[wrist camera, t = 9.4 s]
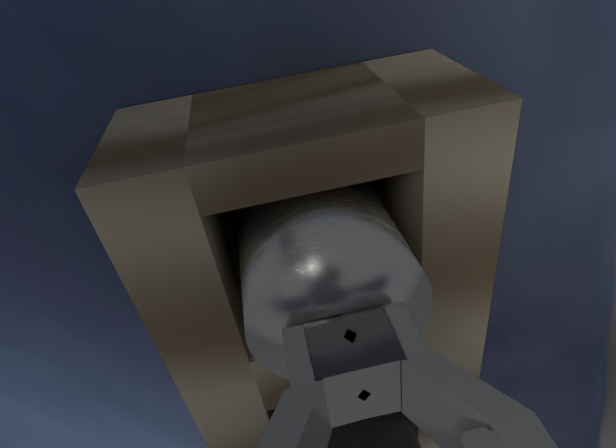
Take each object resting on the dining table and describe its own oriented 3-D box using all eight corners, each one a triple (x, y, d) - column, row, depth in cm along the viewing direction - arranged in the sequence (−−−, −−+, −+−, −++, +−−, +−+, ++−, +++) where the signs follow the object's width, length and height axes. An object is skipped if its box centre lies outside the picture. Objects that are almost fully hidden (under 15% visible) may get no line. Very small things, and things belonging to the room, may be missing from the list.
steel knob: (219, 164, 13) (222, 272, 9) (368, 134, 13) (436, 224, 9) (251, 277, 16) (265, 399, 12) (374, 249, 16) (430, 359, 12)
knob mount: (116, 109, 13) (74, 189, 9) (431, 48, 14) (522, 98, 10) (266, 479, 27) (275, 577, 23) (420, 439, 28) (456, 528, 24)
